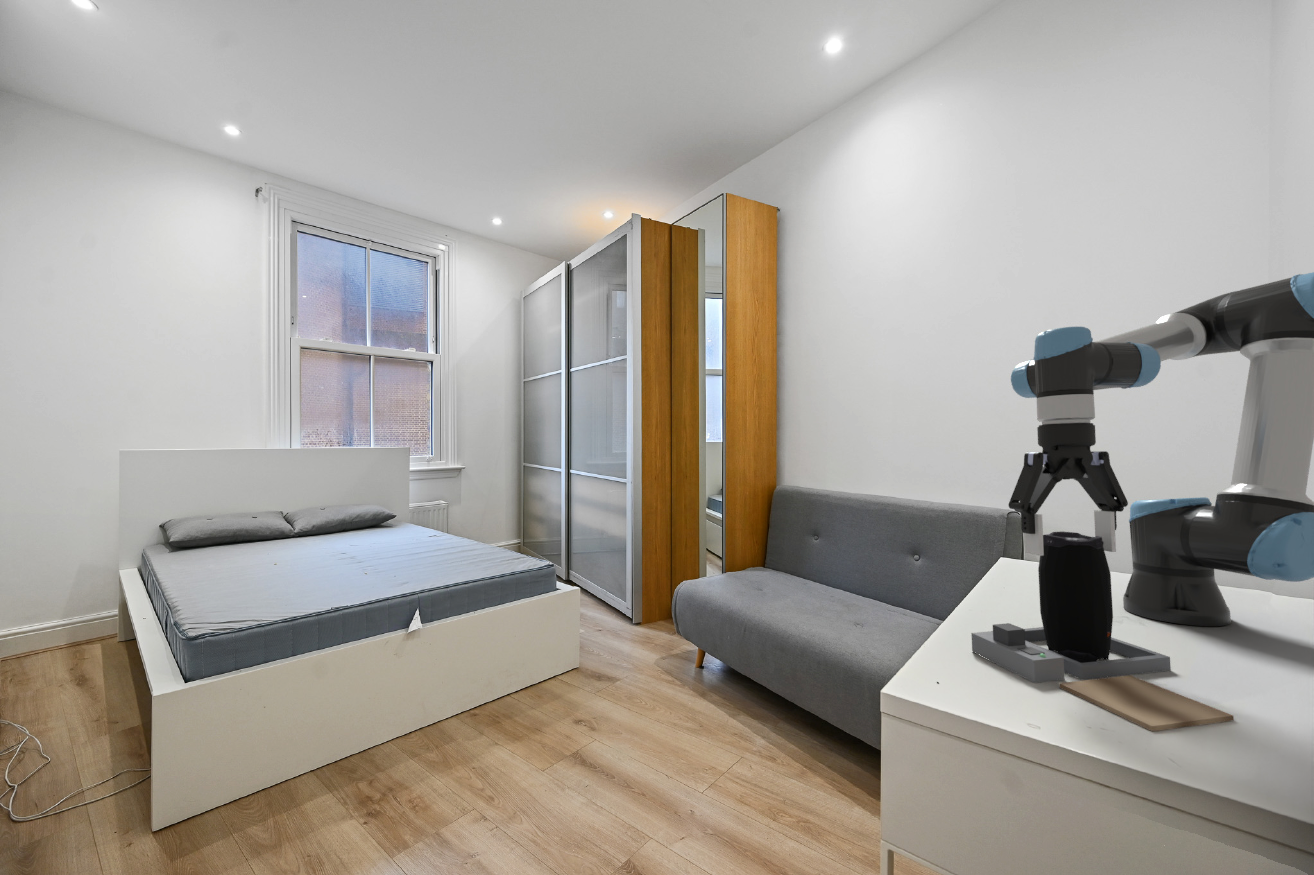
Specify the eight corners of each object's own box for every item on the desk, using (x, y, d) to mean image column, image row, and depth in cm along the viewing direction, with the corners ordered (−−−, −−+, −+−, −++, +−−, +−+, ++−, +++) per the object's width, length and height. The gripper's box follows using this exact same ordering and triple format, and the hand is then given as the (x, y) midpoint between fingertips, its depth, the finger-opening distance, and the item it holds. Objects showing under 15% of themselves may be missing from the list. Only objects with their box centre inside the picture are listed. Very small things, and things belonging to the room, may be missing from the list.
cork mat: (1130, 679, 76) (1130, 675, 76) (1233, 720, 64) (1233, 715, 64) (1059, 687, 74) (1059, 683, 74) (1152, 731, 62) (1151, 726, 62)
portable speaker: (1129, 664, 81) (1123, 537, 82) (1073, 668, 81) (1067, 540, 81) (1080, 644, 90) (1075, 529, 90) (1029, 647, 89) (1024, 532, 90)
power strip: (998, 649, 88) (997, 616, 89) (1064, 679, 77) (1062, 640, 77) (972, 652, 88) (970, 618, 88) (1034, 682, 76) (1032, 643, 76)
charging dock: (1073, 635, 94) (1072, 624, 94) (1170, 670, 79) (1169, 657, 79) (981, 644, 91) (981, 632, 91) (1064, 682, 76) (1063, 668, 76)
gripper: (1106, 423, 92) (1111, 545, 91) (980, 424, 88) (985, 551, 87) (1153, 421, 85) (1159, 553, 84) (1018, 421, 81) (1023, 560, 80)
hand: (1070, 552), depth 86 cm, fingers open, 13 cm apart
